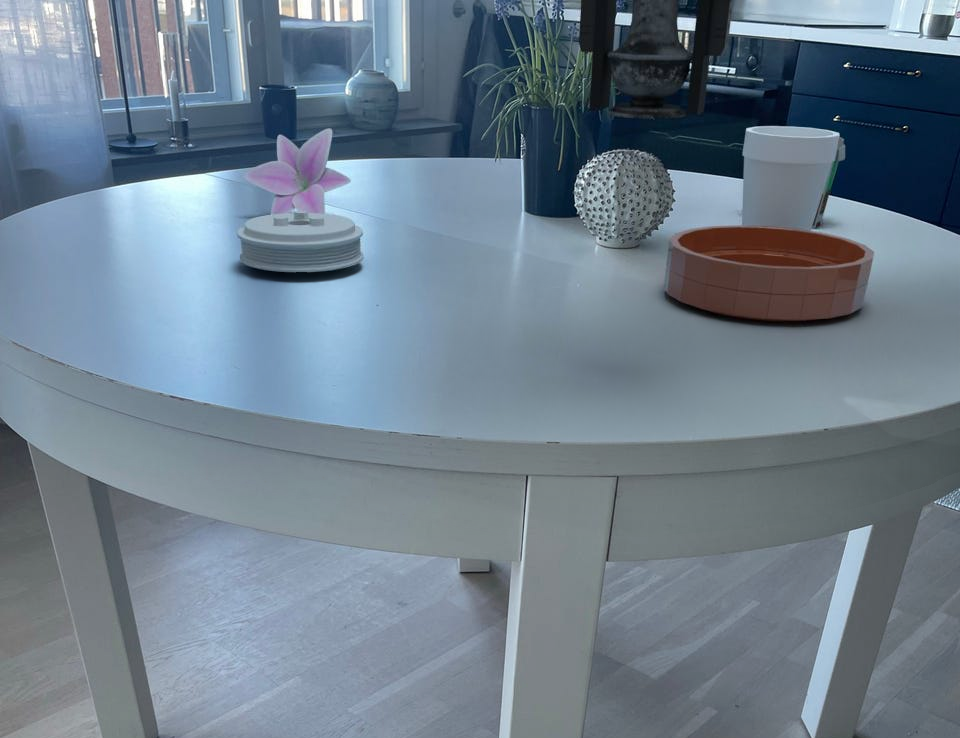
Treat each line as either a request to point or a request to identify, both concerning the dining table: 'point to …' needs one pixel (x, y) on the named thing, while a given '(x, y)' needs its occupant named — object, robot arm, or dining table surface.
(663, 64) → the salt shaker
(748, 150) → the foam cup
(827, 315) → the bowl
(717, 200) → the dining table surface
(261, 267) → the lid
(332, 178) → the lily
